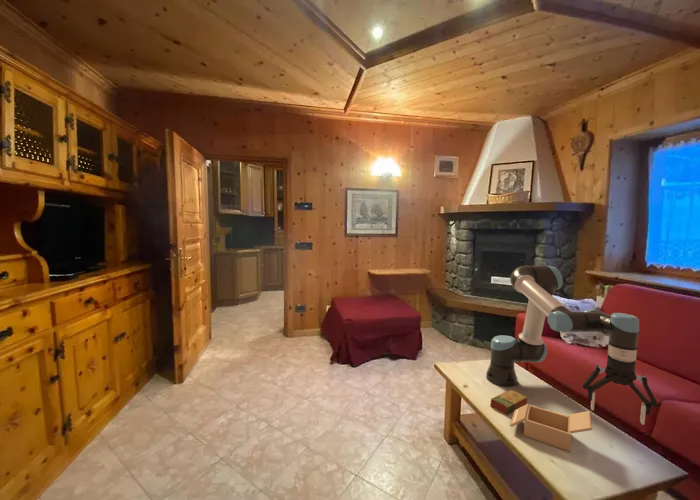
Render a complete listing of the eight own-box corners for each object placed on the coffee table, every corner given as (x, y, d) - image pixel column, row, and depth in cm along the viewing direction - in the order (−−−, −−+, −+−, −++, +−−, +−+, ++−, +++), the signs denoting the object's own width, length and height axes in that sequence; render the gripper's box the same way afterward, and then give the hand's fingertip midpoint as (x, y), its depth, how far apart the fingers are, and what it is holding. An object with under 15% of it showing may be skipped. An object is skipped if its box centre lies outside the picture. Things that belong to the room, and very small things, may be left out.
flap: (569, 414, 124) (589, 410, 120) (571, 416, 124) (590, 413, 120) (569, 431, 114) (590, 427, 110) (571, 433, 114) (592, 430, 110)
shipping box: (514, 415, 136) (515, 399, 135) (569, 433, 125) (570, 415, 124) (509, 431, 125) (510, 413, 125) (569, 452, 114) (570, 432, 113)
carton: (527, 405, 145) (527, 396, 144) (507, 416, 136) (507, 407, 136) (509, 397, 152) (510, 388, 151) (490, 407, 143) (490, 398, 143)
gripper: (577, 352, 113) (573, 407, 115) (674, 372, 99) (667, 435, 101) (577, 346, 119) (573, 398, 121) (668, 363, 105) (662, 422, 107)
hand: (616, 415), depth 111 cm, fingers open, 13 cm apart
